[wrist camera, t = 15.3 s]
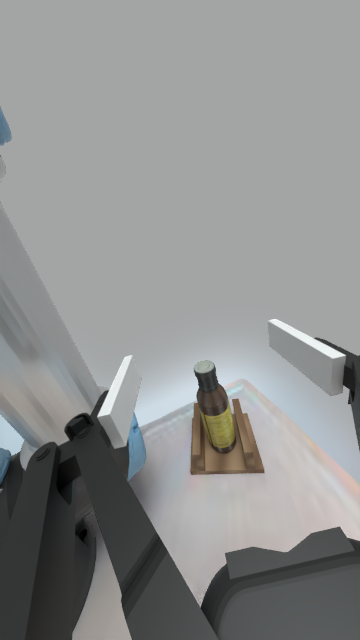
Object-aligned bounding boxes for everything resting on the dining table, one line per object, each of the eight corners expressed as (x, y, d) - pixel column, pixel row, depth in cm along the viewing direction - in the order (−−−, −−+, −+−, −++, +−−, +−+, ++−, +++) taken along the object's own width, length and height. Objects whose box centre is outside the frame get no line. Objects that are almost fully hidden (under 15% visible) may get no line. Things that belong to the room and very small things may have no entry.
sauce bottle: (242, 437, 37) (229, 363, 31) (225, 461, 34) (207, 383, 28) (219, 421, 42) (203, 353, 36) (202, 440, 39) (182, 369, 33)
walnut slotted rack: (191, 474, 34) (184, 455, 32) (193, 420, 45) (188, 403, 44) (264, 472, 32) (261, 451, 30) (247, 416, 43) (244, 398, 41)
